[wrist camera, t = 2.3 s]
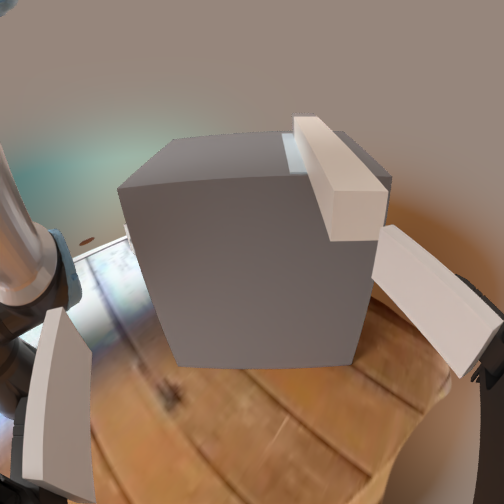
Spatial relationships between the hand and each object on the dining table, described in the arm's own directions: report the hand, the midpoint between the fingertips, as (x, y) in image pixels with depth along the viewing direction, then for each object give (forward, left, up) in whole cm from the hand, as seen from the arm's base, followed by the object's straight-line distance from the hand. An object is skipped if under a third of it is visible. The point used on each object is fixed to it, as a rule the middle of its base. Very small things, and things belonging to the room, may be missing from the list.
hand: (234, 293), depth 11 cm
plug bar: (-18, +9, -1) cm, 20 cm away
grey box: (-26, +4, -30) cm, 40 cm away
